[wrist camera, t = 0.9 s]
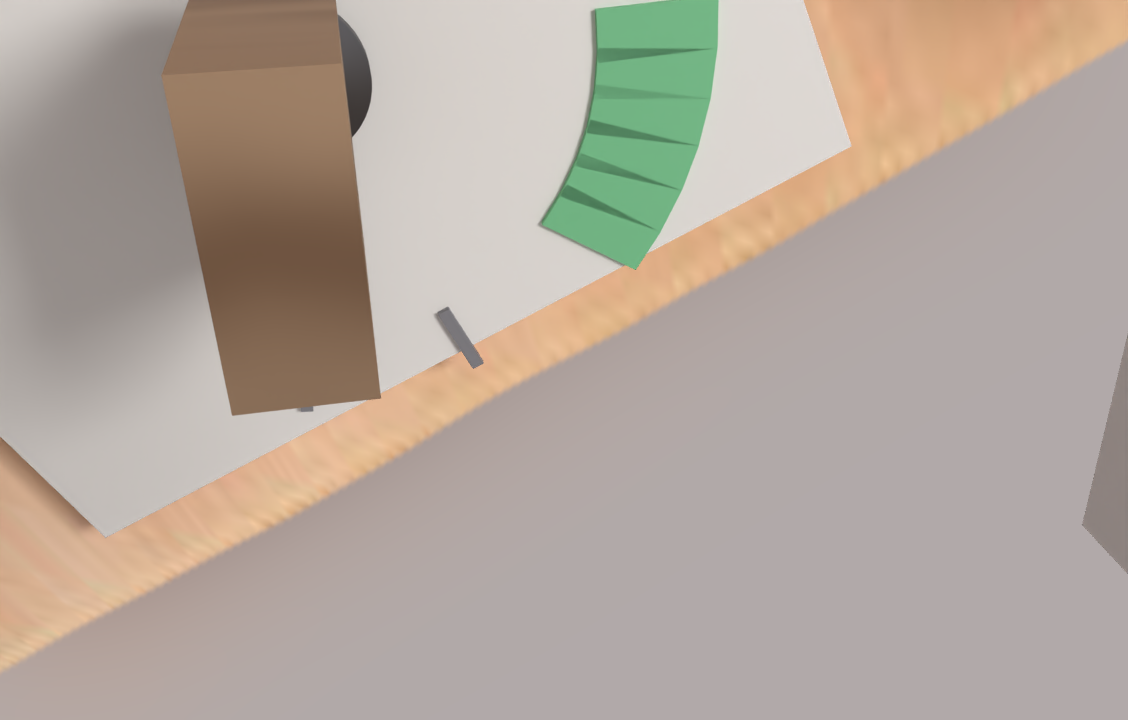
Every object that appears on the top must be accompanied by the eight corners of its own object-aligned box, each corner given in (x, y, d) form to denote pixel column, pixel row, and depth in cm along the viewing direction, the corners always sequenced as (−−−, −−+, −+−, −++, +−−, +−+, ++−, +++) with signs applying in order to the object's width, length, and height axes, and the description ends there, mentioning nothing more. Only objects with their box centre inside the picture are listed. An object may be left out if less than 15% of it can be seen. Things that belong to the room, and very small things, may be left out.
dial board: (-449, -45, 26) (-491, -30, 25) (567, -653, 24) (583, -673, 23) (124, 522, 38) (118, 554, 37) (838, 147, 36) (859, 166, 35)
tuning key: (180, -54, 27) (117, 78, 18) (356, -62, 28) (382, 60, 19) (262, 392, 34) (248, 647, 25) (402, 376, 35) (436, 619, 26)
